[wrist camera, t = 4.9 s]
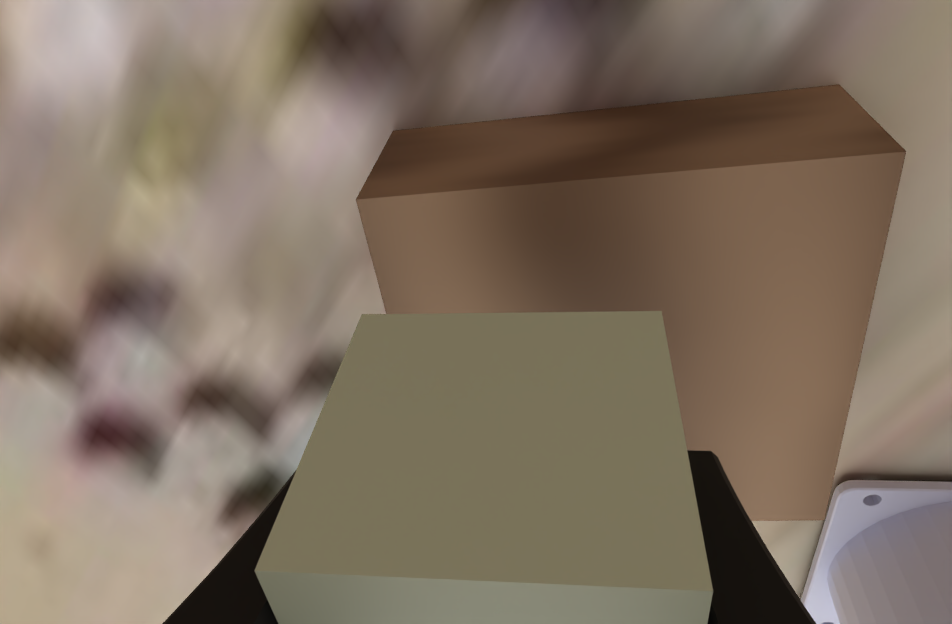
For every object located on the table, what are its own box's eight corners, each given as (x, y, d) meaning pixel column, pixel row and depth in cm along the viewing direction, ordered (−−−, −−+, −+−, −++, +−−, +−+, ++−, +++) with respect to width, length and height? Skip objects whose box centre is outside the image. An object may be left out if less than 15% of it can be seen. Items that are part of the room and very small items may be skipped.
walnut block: (834, 79, 15) (906, 151, 12) (784, 410, 21) (824, 520, 18) (395, 125, 17) (356, 199, 14) (460, 421, 23) (442, 522, 19)
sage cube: (661, 310, 10) (713, 590, 6) (646, 512, 13) (677, 795, 9) (362, 314, 11) (254, 570, 7) (405, 505, 13) (343, 766, 10)
